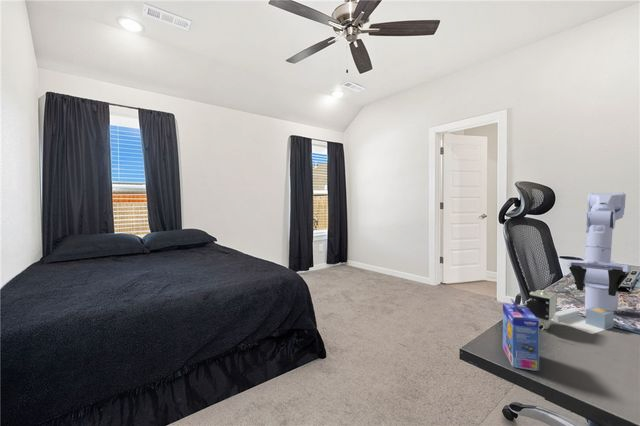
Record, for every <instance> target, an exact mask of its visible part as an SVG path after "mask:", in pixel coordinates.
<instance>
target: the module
mask: <svg viewBox="0 0 640 426" xmlns="http://www.w3.org/2000/svg"><path fill="white" fill-rule="evenodd" d="M614 315H615V311H613V312H612V311H609V310H605V309H601V308H598V307H592V308H589V309H587V308H585V318H586V323H585V324H589V325H592V326H595V327H598V328H601V329H606V330H608V329H607V328H609V329H611V328H610V327H612V328H614V327H613V326H614V319H615V318H614Z"/></svg>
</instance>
